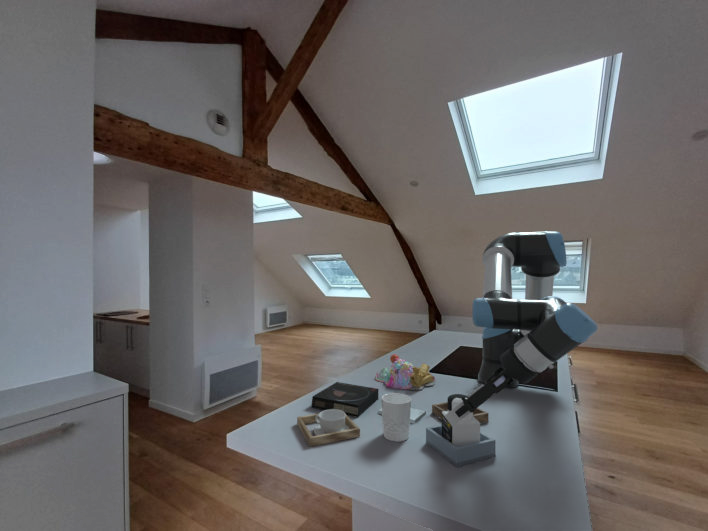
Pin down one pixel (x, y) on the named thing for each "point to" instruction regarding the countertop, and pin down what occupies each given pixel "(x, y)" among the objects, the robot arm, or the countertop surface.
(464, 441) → the medicine bottle
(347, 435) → the oak cup rest
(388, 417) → the white cup
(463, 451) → the grey tray
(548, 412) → the countertop surface
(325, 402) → the portable cd player
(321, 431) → the teacup
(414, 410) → the hard drive
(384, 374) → the candy landscape model
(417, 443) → the countertop surface
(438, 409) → the walnut holder
